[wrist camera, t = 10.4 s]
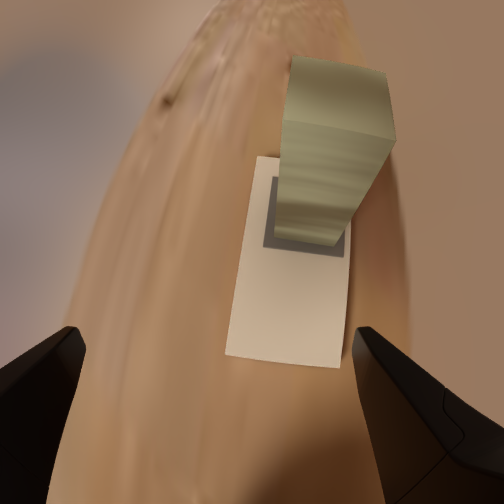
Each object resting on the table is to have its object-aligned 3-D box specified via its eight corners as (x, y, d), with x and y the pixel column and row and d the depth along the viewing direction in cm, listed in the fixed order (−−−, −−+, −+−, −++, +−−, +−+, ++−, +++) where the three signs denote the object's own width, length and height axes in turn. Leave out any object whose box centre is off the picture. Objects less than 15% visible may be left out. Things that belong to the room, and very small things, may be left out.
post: (333, 246, 22) (396, 141, 11) (273, 237, 23) (282, 119, 11) (337, 193, 24) (385, 73, 12) (281, 184, 24) (293, 55, 12)
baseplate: (335, 367, 21) (340, 368, 20) (226, 354, 22) (224, 354, 20) (348, 175, 26) (351, 167, 25) (257, 163, 26) (257, 154, 25)
